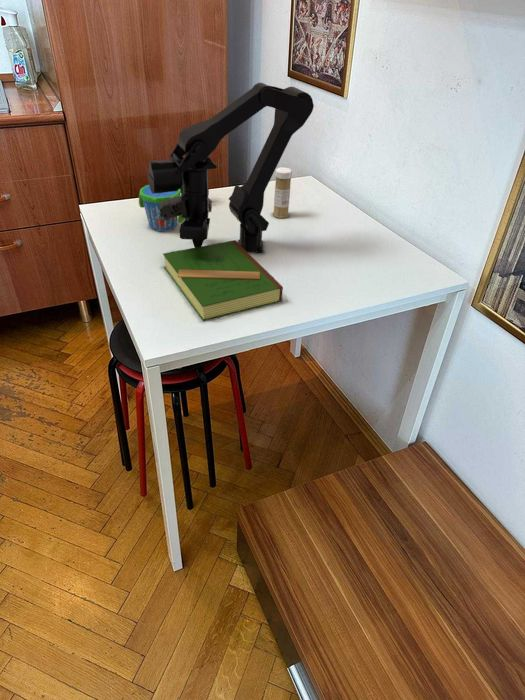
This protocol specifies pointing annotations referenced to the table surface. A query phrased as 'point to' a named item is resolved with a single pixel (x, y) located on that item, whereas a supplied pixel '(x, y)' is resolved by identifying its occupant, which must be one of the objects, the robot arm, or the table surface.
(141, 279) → the table surface
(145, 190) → the snack cup
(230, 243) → the hardcover book
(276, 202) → the sprinkles bottle
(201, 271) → the ruler
